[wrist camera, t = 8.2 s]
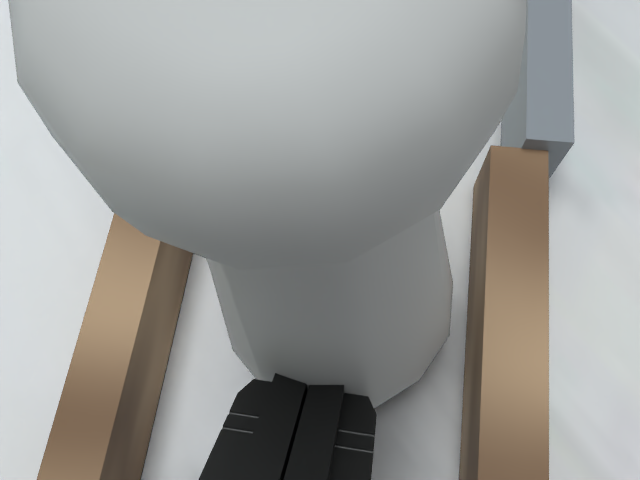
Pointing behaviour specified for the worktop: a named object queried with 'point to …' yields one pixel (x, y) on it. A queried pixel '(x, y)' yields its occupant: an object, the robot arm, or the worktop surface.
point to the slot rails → (480, 356)
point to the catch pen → (544, 84)
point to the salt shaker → (286, 156)
